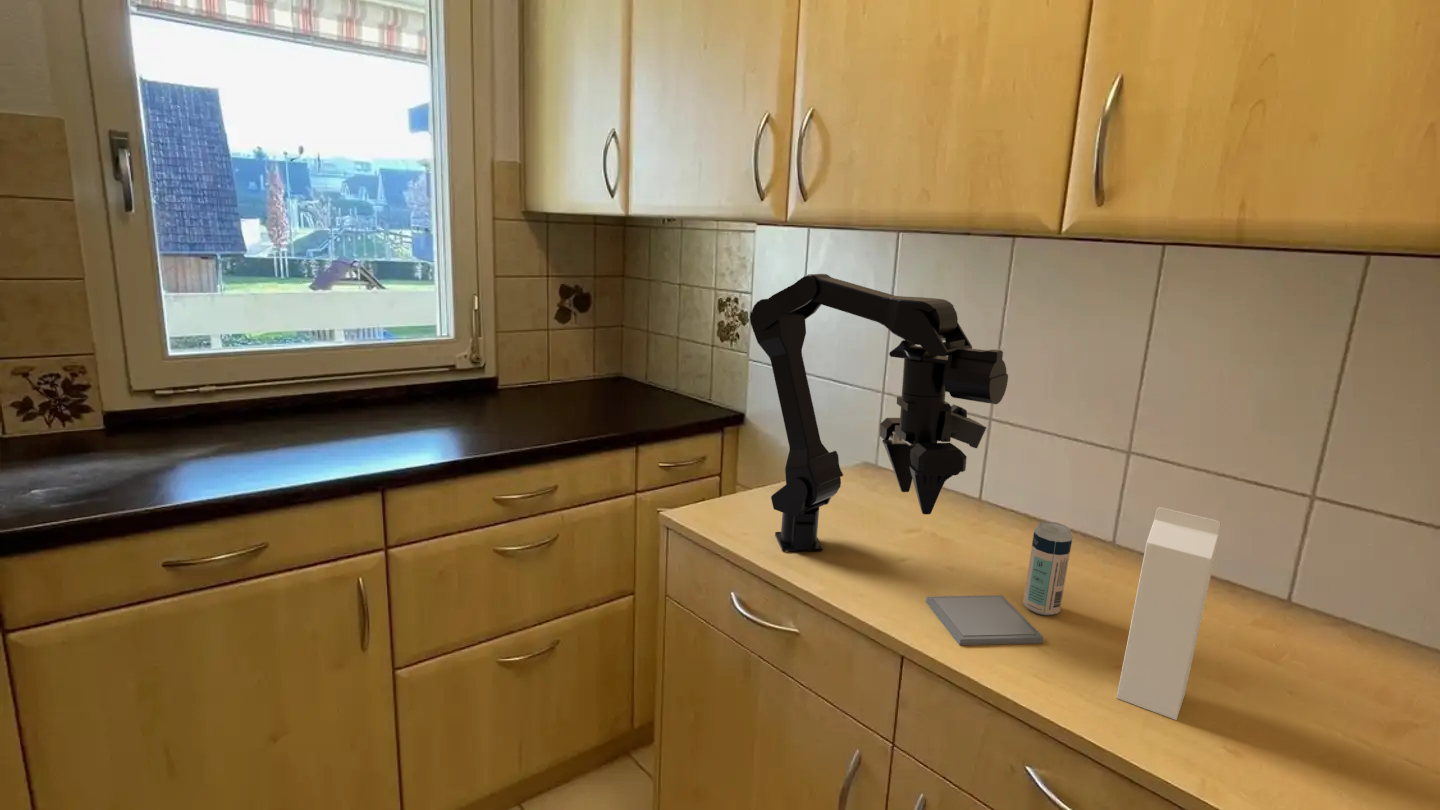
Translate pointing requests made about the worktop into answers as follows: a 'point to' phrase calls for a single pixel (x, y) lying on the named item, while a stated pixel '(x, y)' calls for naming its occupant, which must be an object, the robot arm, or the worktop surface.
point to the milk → (1168, 611)
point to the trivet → (983, 620)
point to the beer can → (1047, 568)
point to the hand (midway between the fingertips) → (915, 502)
